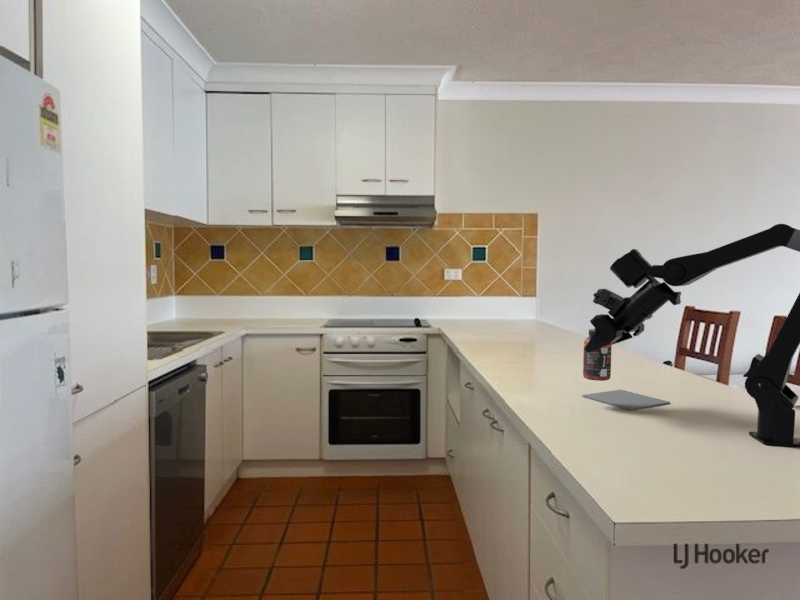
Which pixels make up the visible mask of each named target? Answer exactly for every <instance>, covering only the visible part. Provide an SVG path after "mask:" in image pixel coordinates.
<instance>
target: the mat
mask: <svg viewBox="0 0 800 600" xmlns="http://www.w3.org/2000/svg"><path fill="white" fill-rule="evenodd" d="M581 397H583V398H585V399H589V400H593V401H596V402H599V403H603V404H606V405H610V406H614V407H617V408H621V409H624V410H627V411H635V410H641V409H647V408H653V407H658V406H663V405H669V404H671V401H668V400H665V399H664V400H663V399H660V398H657V397H652V396H648V395H644V394H639V393H637V392H636V393H635V392H632V391H627V390H624V389H616V390H608V391H602V392H595V393H594V392H593V393H588V394H582V396H581Z"/></svg>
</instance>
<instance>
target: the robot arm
mask: <svg viewBox="0 0 800 600" xmlns="http://www.w3.org/2000/svg"><path fill="white" fill-rule="evenodd" d="M780 247H784V248H787V249H791V250H792V251H796V252H798V253H799V252H800V229H798V228H795V227H792V226H791V225H788V224H786V223H777V224H775V225H773V226H772V227H769V228H767V229H764V230H762V231H760V232H756V233H754V234H752V235H749V236H746V237H744V238H741V239H738V240H735V241H733V242H730V243H727V244H725V245H722V246H721V245H720V246H719V247H716V248H714V249H711V250H709V251H705V252H699V253H694V254H693V253H692V254H688V255H687V254H686V255H683V256H678V257H673V258H671V259H670V258H669V259H668V260H666V261H665V262H664V263H663V264H661V265H660V264H651V263H650V262H649V261H647V259H646V258H644V256H643V255H642V253H641V252H640V251H639V250H638V249H637V248H633V249H631V250H630V251H628V252H627V253H625V254H623V255H622V256H621V257H619V258H617V259H616V260H615V261H614V262H613V263H612V264H611V265H610V267H609V270H610V271H611V272H612V273H613V274H614V275H615V276H616V277H617V278H618V279H619V280H620V281H621V282H622V283H623V285H624V286H625V287H626V288H628V289H629V288H631V287H633V288H634V289H638V288H639V287H640V288H639V289H638V290H636V291H635V292H634V293H633V294H632V295H631V296H628V297H627V296H626V297H623V296H621V295H620V294H617V293H615V292H613V291H611V290H609V289H607V288H599V289H597V291H596V292H595V293H593V297H594V298H593V300H592V302H593V303H594V304H596V305H600V306H602V307H603V308H605V309H607V310H608V311H607V313H608V314H603V313H600V314H596V315H595V316H594V317H592V318H591V319H590V320H589V322H590V324H591V325H592V326H593V327H594V329H595V332H594V334H593V336H592V337H591V339H590V341H589V342H588V344H587V345H586V347H585V350H586V352H591V351H593V350H596V349H599V348H602V347H604V346H607V345H610V344H612V346H613V345H615V344H618V343H621V342H625V341H627V340H631V339H633V336H634V337H639V335H641V334H642V333H643V332H644V331H645V324H644V322H645V321H646V320H651V318H653V315H654V314H656V312H657V311H658V310H659V309H660V308H662V307H664V305H665V304H666V303H667V302H670V303H671V304H672V305H673V306H677V305H681V303H682V302H681V301H682V300H681V295H682V291H675V290H674V289H673V288H671V287H685V286H689V285H691V284H693V283H695V282H697V281H699V280H700V279H702V278H704V277H705V276H707V275H709V274H710V273H712V272H714V271H716V270H718V269H720V268H724V267H725V266H729V265H732V264H734V263H737V262H740V261H742V260H746V259H749V258H752V257H754V256H757V255H760V254H763V253H765V252H766V253H767V252H768V251H772V250H774V249H777V248H780ZM657 279H661V280H663V281H662V282H660V281H659V280H657ZM796 297H797V298H796V299H795V301H794V302H793V305H792V307H791V309H790V311H789V312H788V314H787V316H786V318H785V321H784V322H783V324H782V326H781V328H780V329H779V332H778V334H777V336H776V338H775V339H774V341H773V343H772V345H771V347H770V349H769V350H768V352H767V353H766V354H765V355H764V356H763V355H762V354H760V353H757V354H755V356H753V357H752V358H751V359H752V360H751V362H750V364H749V365H750V366H749V369H748V370H747V372H746V373H744V374H743V375H742V377H743V378H746V379H745V382H744V388H745V390H746V392H747V394H748V395H749V396H750V397H751V398H753V399H754V401H755V404H756V405H757V406H756V407H757V424H756V425H757V426H756V431H748V435H749V436H751V437H752V438H754V439H756V440H757V441H759V442H760V443H762V444H764V445H768V446H772V445H773V446H784V447H785V446H786V447H800V441H798V440H797V439H795V424H796V423H795V422H796V410H795V409H794V407H795V405H796V403H797V401H798V400H799V395H798V394H796V393H795V391H793V390H792V388H790V386H788V385H787V382H788V377H789V374H790V371H791V367H792V363H793V358H794V355H795V354H796V352H797V350H798V349H799V346H800V292H799V293H798V295H797V296H796ZM631 333H633V334H631Z"/></svg>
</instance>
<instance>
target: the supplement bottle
mask: <svg viewBox="0 0 800 600" xmlns="http://www.w3.org/2000/svg"><path fill="white" fill-rule="evenodd" d="M594 332H595V328H590V329H588V337H587V338H585V339H584V341H583V359H582V363H583V364H582V365H583V366H582V370H583V371H582V375H583V378H584V379H586V380H589V381H600V382H602V381H609V380H610V379H611V375H612V374H611V373H612V372H611V371H612V370H611V369H612V349H613V348H612V346H613V345H612V344H610V345H607V346H604V347H602V348H599V349H596V350H593V351H591V352H586V350H585V347H586V345H587V344H588V342H589V341H590V339H591V337H592V336H593V334H594Z"/></svg>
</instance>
